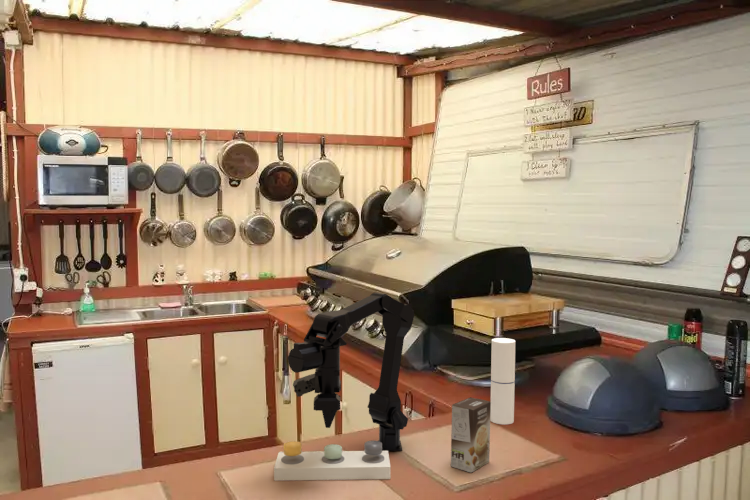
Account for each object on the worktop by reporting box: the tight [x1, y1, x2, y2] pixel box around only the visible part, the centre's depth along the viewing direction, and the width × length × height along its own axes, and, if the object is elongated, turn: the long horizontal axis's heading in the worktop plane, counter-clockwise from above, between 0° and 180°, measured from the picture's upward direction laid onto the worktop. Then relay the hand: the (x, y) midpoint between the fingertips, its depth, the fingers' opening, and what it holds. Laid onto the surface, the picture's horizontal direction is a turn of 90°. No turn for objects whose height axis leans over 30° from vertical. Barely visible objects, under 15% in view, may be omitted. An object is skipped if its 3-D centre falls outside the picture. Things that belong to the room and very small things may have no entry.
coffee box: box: [450, 397, 491, 473], centre depth 158 cm, size 9×6×16 cm
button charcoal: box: [363, 440, 382, 455], centre depth 154 cm, size 4×4×2 cm
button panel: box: [273, 450, 391, 482], centre depth 154 cm, size 10×28×3 cm, turn 92°
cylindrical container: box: [490, 337, 516, 425], centre depth 190 cm, size 7×7×25 cm
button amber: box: [283, 440, 303, 456], centre depth 153 cm, size 4×4×2 cm
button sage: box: [323, 443, 343, 459], centre depth 154 cm, size 4×4×2 cm
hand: (327, 427), depth 153 cm, fingers closed
